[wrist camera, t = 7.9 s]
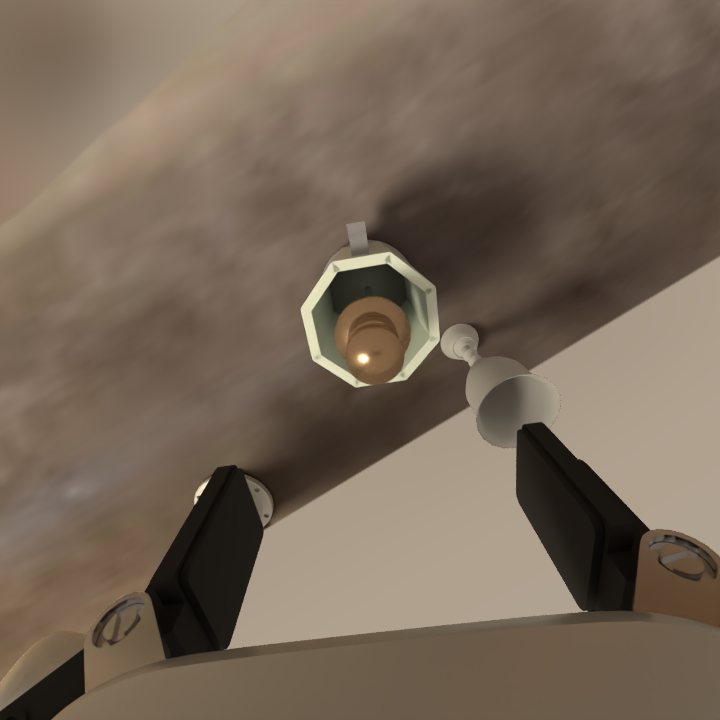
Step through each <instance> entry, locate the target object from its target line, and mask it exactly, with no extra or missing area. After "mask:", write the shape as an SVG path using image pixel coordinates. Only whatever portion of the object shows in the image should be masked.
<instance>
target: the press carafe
mask: <svg viewBox="0 0 720 720" xmlns="http://www.w3.org/2000/svg"><path fill="white" fill-rule="evenodd" d="M347 230H348V236H349V242H350V244H348V245H346V246H344V247H342V248H341V249H340V250H339V251H337V252H336V253H335V254H334V255H333V256H332V258H331V259H330V260H329V262H328V263H327V265H326V267H325V269H324V272H323V275H322V277H321V279H320V280H319V282H318V283H317V285H316V286H315V288H314V289H313V291H312V292H311V294H310V295H309V297H308V298H307V300H306V301H305V303H304V304H303V306H302V308H301V313H302V317H303V322H304V326H305V330H306V334H307V338H308V343H309V347H310V351H311V355H312V359H313V361H315V362H317V363H318V364H320V365H321V366H323V367H324V368H326V369H328V370H329V371H331V372H332V373H334V374H335V375H337V376H339V377H340V378H342V379H343V380H345V381H346V382H348V383H350V384H351V385H353V386H354V387H362V386H369V385H370V384H365V383H363V382H360V381H359V380H357V379H356V378H355V377H354V376H352V374H351V373H350V371H349V370H348V367H347V364H346V360H345V359H344V358H343V357H342V356H341V354H340V353H339V351H338V349H337V346H336V343H335V327H336V323H337V320H338V318H339V315H340V314H341V312H342V311H343V310H344V308H345V307H346V306H347V305H348V304H350V303H351V302H353V301H355V300H356V299H359V298H362V297H363V289H364V288H365V287H368V286H369V287H371V288H372V289H373V294H374V296H379V297H384V298H387V299H389V300H391V301H393V302H394V303H396V304H397V305H398V306H399V307H400V308H401V309H402V310H403V312H404V313H405V315H406V317H407V319H408V322H409V325H410V330H411V338H410V343H409V346H408V349H407V351H406V352H405V354H404V364H403V367H402V369H401V371H400V372H399V374H398V375H397V376H396V377H395V378H393V379H392V380H391V381H389V382H396V381H402V380H407V379H408V377H409V376H410V375H411V374H412V373H413V371H414V370H415V369H416V368H417V367H418V366H419V364H420V363H421V362H422V361H423V360H424V359H425V357H426V356H427V355H428V354H429V353H430V352H431V350H432V349H433V348H434V347H435V346H436V344H437V343H438V342H439V341H440V334H439V322H438V309H437V297H436V287H435V286H434V285H433V284H432V283H431V282H430V281H429V280H427V279H426V278H425V277H424V276H423V275H422V274H420V273H419V272H418V271H417V270H416V269H415V268H414V267H412V266H411V265H410V264H409V263H408V261H407V260H406V258H405V257H404V256H403V255H402V254H401V253H400V252H399V251H398V250H397V249H395V248H394V247H392V246H391V245H388V244H386V243H384V242H381V241H376V240H367V234H366V228H365V221H363V222H357V223H351V224H347ZM389 382H387V383H389Z"/></svg>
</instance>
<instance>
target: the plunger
mask: <svg viewBox="0 0 720 720" xmlns="http://www.w3.org/2000/svg"><path fill="white" fill-rule="evenodd" d="M410 338H411V330H410V325H409V322H408V319H407V317H406V315H405V313H404V312H403V310H402V309H401V308H400V307H399V306H398V305H397V304H396V303H394V302H393V301H391V300H389V299H387V298H384V297H379V296H374V294H373V289H372V288H371V287H369V286H368V287H365V288H364V289H363V297H362V298H359V299H356V300H355V301H353V302H351V303H350V304H348V305H347V306H346V307H345V308H344V310H343V311H342V312H341V314H340V315H339V318H338V320H337V323H336V327H335V343H336V346H337V349H338V351H339V353H340V354H341V356H342V357H343V358H344V359H345V360H346V364H347V367H348V370H349V371H350V373H351V374H352V376H354V377H355V378H356V379H357V380H359V381H360V382H363V383H365V384H370V385H380V384H384V383H387V382H389V381H391V380H392V379H393V378H395V377H396V376H397V375H398V374H399V372H400V371H401V369H402V367H403V364H404V354H405V352H406V351H407V349H408V346H409V343H410Z"/></svg>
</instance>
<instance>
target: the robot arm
mask: <svg viewBox="0 0 720 720" xmlns="http://www.w3.org/2000/svg"><path fill="white" fill-rule="evenodd" d="M516 459H517V460H516V462H517V463H516V470H517V471H516V495H517V498H518V501H519V504H520V506H521V507H522V509H523V511H524V513H525V514H526V516H527V518H528V520H529V521H530V523H531V525H532V527H533V528H534V530H535V532H536V533H537V535H538V537H539V539H540V540H541V542H542V544H543V546H544V547H545V549H546V551H547V553H548V554H549V556H550V558H551V560H552V561H553V563H554V565H555V566H556V568H557V570H558V572H559V573H560V575H561V577H562V579H563V580H564V582H565V584H566V586H567V587H568V589H569V591H570V592H571V594H572V596H573V598H574V599H575V601H576V603H577V605H578V606H579V607H580V609H582V610H583V611H586V610H587V611H588V612H579V613H567V614H555V615H543V616H532V617H521V618H511V619H501V620H491V621H481V622H471V623H461V624H452V625H442V626H433V627H423V628H413V629H404V630H396V631H385V632H376V633H367V634H358V635H349V636H340V637H330V638H322V639H312V640H304V641H295V642H287V643H278V644H268V645H260V646H251V647H243V648H235V649H229V650H224V649H227V648H228V646H229V644H230V642H231V638H232V635H233V632H234V629H235V625H236V622H237V619H238V616H239V612H240V609H241V606H242V603H243V599H244V596H245V593H246V590H247V586H248V583H249V580H250V577H251V573H252V570H253V567H254V564H255V560H256V557H257V554H258V551H259V548H260V544H261V541H262V538H263V527H264V526H265V525H266V524H267V523H268V521H269V520H270V518H271V515H272V512H273V507H274V504H273V499H272V496H271V494H270V492H269V491H268V489H267V488H266V487H265V486H264V485H263V484H262V483H261V482H259V481H258V480H256V479H254V478H253V477H250V476H248V475H245V474H244V473H243V471H242V469H238V468H237V466H236V465H230V466H223V467H218V468H217V469H216V470H215V471H214V473H213V475H212V476H210V477H208V478H207V479H206V480H204V481H203V482H202V484H201V485H200V486H199V488H198V490H197V491H196V494H195V498H194V504H195V506H194V507H193V509H192V511H191V512H190V514H189V516H188V517H187V519H186V521H185V523H184V524H183V526H182V528H181V529H180V531H179V533H178V535H177V536H176V538H175V540H174V541H173V543H172V545H171V546H170V548H169V550H168V552H167V553H166V555H165V557H164V558H163V560H162V562H161V564H160V565H159V567H158V569H157V570H156V572H155V574H154V575H153V577H152V579H151V581H150V583H149V585H148V587H147V588H146V590H145V592H133V593H130V594H127V595H125V596H123V597H121V598H119V599H117V600H116V601H115V602H113V603H112V604H111V605H109V606H108V607H107V608H106V609H105V610H104V611H103V612H102V613H101V614H100V615H99V616H98V617H97V618H96V619H95V621H94V622H93V624H92V625H91V626H90V628H89V630H88V632H87V634H86V635H85V634H81V633H77V632H72V631H59V632H55V633H52V634H49V635H47V636H45V637H44V638H42V639H41V640H39V641H38V642H37V643H35V644H34V645H33V646H32V647H31V648H30V649H29V650H28V651H27V652H26V653H25V654H24V655H23V656H22V657H21V658H20V659H19V660H18V662H17V663H16V664H15V665H14V666H13V667H12V669H11V670H10V671H9V672H8V673H7V675H6V676H5V677H4V678H3V680H2V681H1V682H0V720H720V557H719V555H717V554H716V553H715V552H714V551H713V550H712V549H710V548H709V547H708V546H707V545H705V544H703V543H702V542H700V541H698V540H696V539H694V538H692V537H690V536H688V535H685V534H683V533H680V532H676V531H672V530H663V529H656V530H650V529H649V528H648V527H647V526H646V525H645V524H644V523H643V522H642V521H641V520H640V519H639V518H638V517H637V516H636V515H635V514H634V513H633V512H632V511H631V510H630V508H629V507H627V505H626V504H625V503H624V502H623V501H622V500H621V499H620V498H619V497H618V496H617V495H616V494H615V493H614V492H613V491H612V490H611V489H610V488H609V487H608V485H607V484H606V483H605V482H604V481H603V480H602V479H601V478H600V477H599V476H598V475H597V474H596V473H595V472H594V471H593V470H592V469H591V468H590V467H589V466H588V465H587V464H586V463H585V462H584V461H582V460H580V459H577V458H576V457H575V456H574V455H573V454H572V453H571V452H570V451H569V450H568V449H567V448H566V447H565V445H563V443H562V442H561V441H560V440H559V439H558V438H557V437H556V436H555V435H554V434H553V433H552V432H551V430H550V429H549V428H548V427H547V426H546V425H545V424H544V423H543V422H536V423H529V424H524V425H522V429H519V430H517V457H516Z"/></svg>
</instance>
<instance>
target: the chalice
mask: <svg viewBox="0 0 720 720" xmlns="http://www.w3.org/2000/svg"><path fill="white" fill-rule="evenodd" d="M478 341H479V338H478V333H477V332H476V330H475V329H474V328H473V327H472V326H470V325H467V324H456V325H453V326H451V327H450V328H448V329H447V330H446V331H445V333H444V334H443V336H442V338H441V349H442V351H443V353H444V354H445V355H446V356H448V357H449V358H452V359H459V360H465V361H466V362H468V363H469V365H470V367H471V368H470V370H469V373H468V375H467V381H466V397H467V401H468V402H469V404H470V406H471V407H472V409H473V411H474V412H475V414H476V416H477V418H476V422H477V428H478V431H479V433H480V434H481V436H482V437H483V439H484V440H486V441H487V442H489V443H490V444H491V445H494V446H497V447H501V448H517V430H519V429H522V425H524V424H529V423H536V422H543V423H544V424H545V425H546V426H547V427H548V428H549V429H550V428H551V427H552V425H553V424H554V422H555V421H556V419H557V417H558V413H559V410H560V407H561V403H560V394H559V392H558V390H557V388H556V386H555V385H554V384H553V383H552V382H551V381H549V380H548V379H547V378H545V377H541V376H538V375H534V374H532V373H530V372H529V371H528V370H527V369H526V368H525V367H524V366H523V365H521V364H520V363H519V362H518V361H516V360H513V359H510V358H506V357H499V356H493V357H485V358H482V357H481V356H480V355H478V352H477V347H478Z"/></svg>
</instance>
